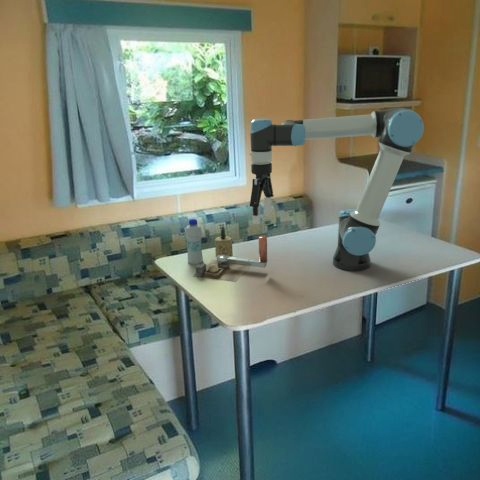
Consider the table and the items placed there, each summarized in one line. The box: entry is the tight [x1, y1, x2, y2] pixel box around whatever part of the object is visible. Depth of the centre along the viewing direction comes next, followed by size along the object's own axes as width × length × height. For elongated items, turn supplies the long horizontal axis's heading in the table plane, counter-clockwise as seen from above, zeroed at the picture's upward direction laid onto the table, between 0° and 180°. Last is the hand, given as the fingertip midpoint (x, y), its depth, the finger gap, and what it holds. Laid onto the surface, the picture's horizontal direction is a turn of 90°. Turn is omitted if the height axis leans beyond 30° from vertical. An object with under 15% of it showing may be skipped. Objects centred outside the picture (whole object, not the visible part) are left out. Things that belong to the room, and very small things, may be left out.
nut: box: [209, 264, 219, 273], centre depth 191 cm, size 4×4×4 cm
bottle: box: [184, 218, 204, 265], centre depth 202 cm, size 7×7×20 cm
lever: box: [216, 235, 268, 269], centre depth 192 cm, size 21×5×12 cm, turn 69°
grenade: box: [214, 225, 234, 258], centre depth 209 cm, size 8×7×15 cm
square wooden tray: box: [192, 258, 251, 283], centre depth 195 cm, size 18×19×6 cm
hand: (262, 218), depth 185 cm, fingers open, 13 cm apart
